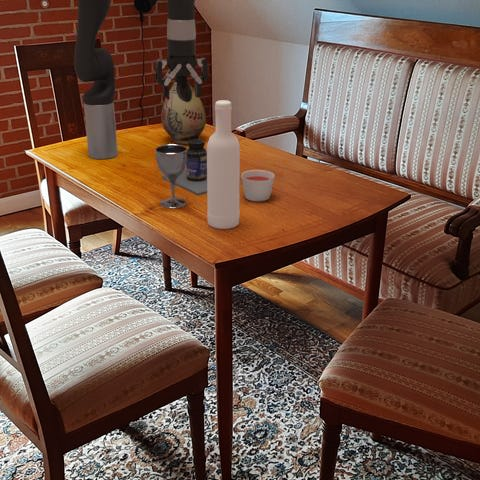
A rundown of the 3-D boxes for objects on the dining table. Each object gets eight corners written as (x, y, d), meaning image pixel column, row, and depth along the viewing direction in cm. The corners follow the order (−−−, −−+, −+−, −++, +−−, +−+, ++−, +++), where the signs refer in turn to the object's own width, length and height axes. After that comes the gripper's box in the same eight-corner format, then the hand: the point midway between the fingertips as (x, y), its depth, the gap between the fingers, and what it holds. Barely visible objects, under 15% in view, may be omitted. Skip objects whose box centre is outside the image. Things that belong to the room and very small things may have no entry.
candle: (234, 195, 171) (234, 174, 168) (259, 189, 176) (260, 167, 173) (254, 206, 164) (255, 183, 161) (280, 198, 169) (281, 176, 166)
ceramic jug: (159, 135, 223) (155, 49, 210) (201, 133, 227) (200, 48, 214) (165, 149, 208) (161, 57, 195) (211, 146, 212) (210, 56, 199)
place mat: (161, 177, 183) (161, 175, 183) (195, 169, 190) (195, 167, 190) (197, 195, 171) (197, 193, 170) (232, 185, 177) (232, 183, 177)
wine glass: (176, 211, 160) (174, 155, 154) (152, 204, 164) (149, 149, 158) (194, 201, 166) (193, 147, 160) (170, 195, 170) (168, 142, 164)
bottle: (237, 216, 158) (238, 97, 145) (241, 228, 151) (243, 105, 138) (206, 217, 157) (204, 98, 144) (208, 230, 150) (207, 106, 137)
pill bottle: (204, 182, 178) (203, 145, 173) (183, 180, 179) (182, 143, 174) (209, 175, 183) (209, 139, 179) (189, 173, 185) (188, 137, 180)
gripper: (202, 34, 171) (202, 93, 178) (151, 35, 166) (153, 96, 173) (211, 38, 164) (210, 99, 172) (158, 39, 160) (160, 102, 167)
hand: (182, 97), depth 172 cm, fingers open, 8 cm apart
